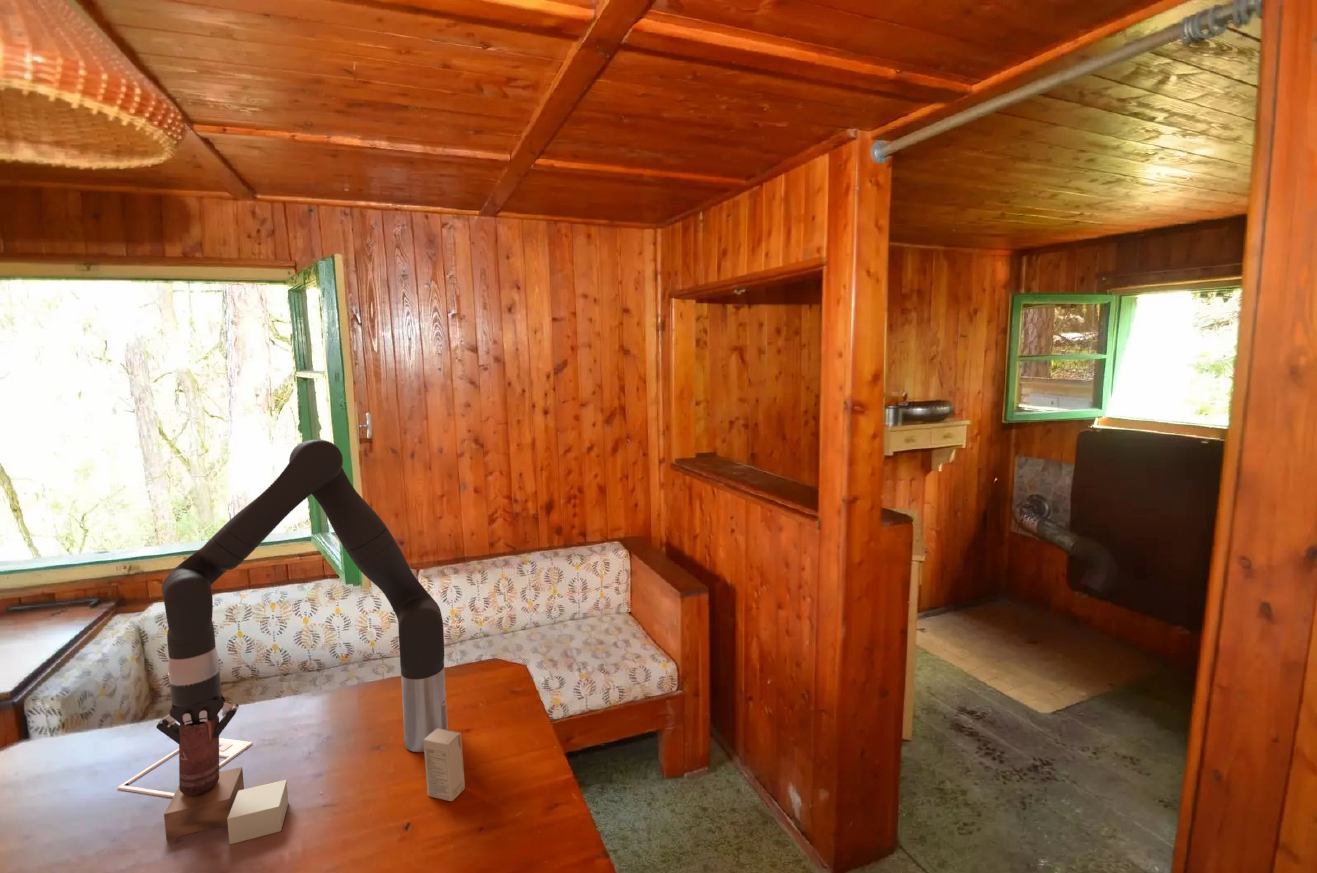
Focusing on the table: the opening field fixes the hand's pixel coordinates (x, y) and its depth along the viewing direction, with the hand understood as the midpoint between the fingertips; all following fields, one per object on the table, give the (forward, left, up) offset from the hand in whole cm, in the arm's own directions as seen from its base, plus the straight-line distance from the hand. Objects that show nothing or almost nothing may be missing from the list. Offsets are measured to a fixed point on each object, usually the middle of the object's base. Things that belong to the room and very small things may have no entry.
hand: (202, 759), depth 116 cm
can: (+1, 0, -6) cm, 6 cm away
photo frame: (+8, -19, -12) cm, 24 cm away
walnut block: (0, 0, -11) cm, 11 cm away
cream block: (-10, +7, -11) cm, 17 cm away
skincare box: (-43, +12, -11) cm, 46 cm away
